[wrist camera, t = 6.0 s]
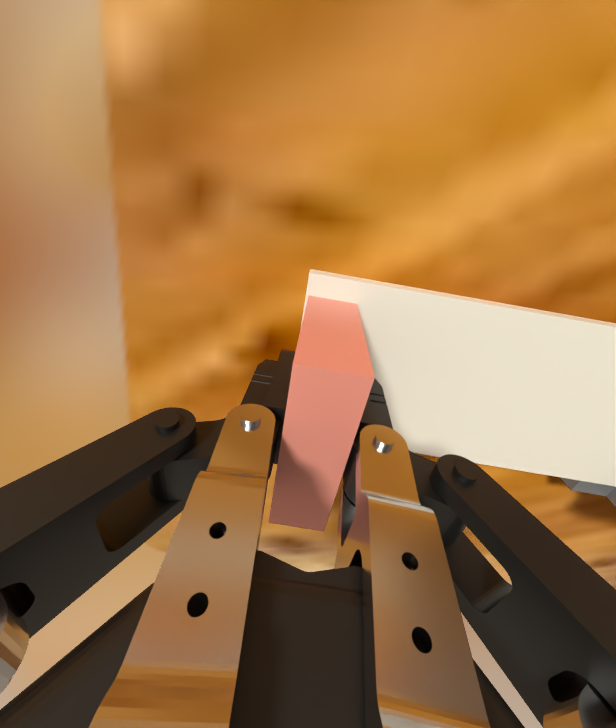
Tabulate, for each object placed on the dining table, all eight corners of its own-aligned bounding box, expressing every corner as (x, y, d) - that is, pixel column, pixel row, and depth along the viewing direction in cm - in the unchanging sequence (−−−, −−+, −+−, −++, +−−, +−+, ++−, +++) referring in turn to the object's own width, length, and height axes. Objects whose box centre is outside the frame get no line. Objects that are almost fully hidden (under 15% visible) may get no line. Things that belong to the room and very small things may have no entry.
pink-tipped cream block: (310, 269, 11) (293, 328, 6) (826, 360, 11) (1216, 489, 6) (286, 422, 14) (263, 535, 10) (669, 487, 15) (833, 627, 10)
